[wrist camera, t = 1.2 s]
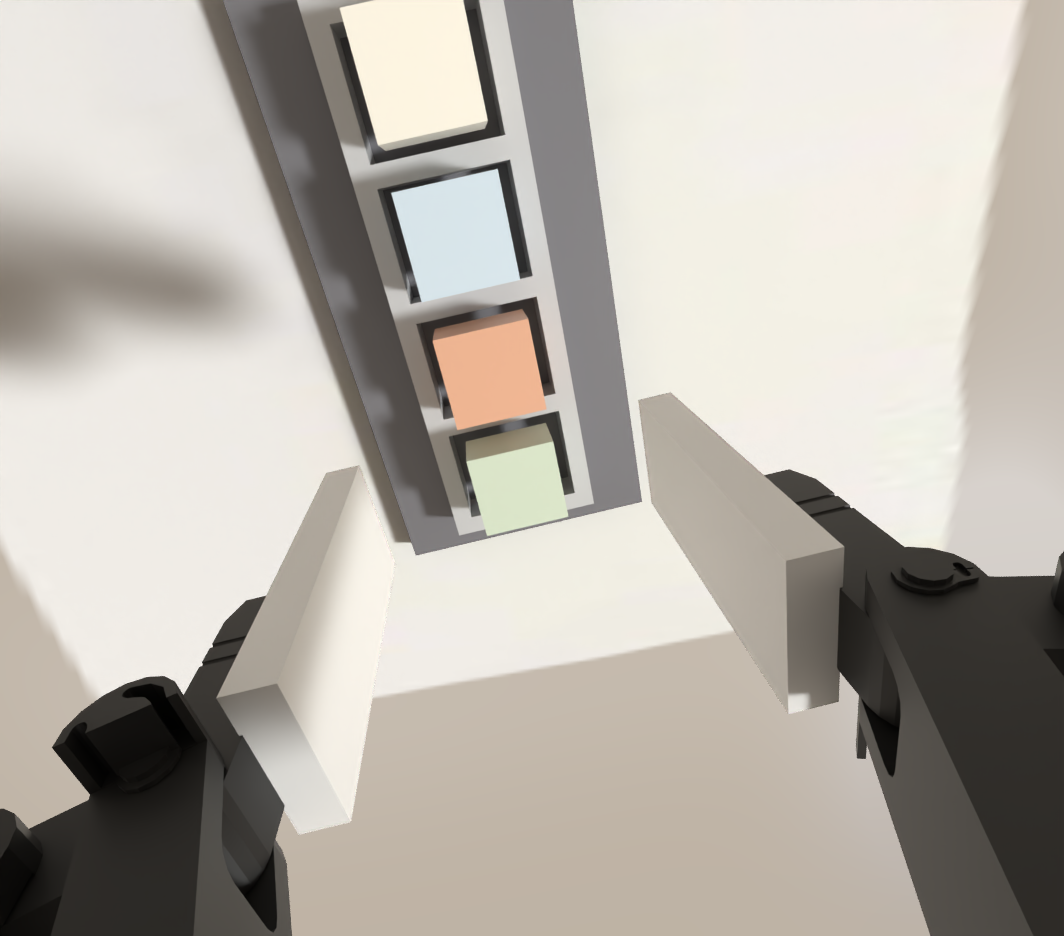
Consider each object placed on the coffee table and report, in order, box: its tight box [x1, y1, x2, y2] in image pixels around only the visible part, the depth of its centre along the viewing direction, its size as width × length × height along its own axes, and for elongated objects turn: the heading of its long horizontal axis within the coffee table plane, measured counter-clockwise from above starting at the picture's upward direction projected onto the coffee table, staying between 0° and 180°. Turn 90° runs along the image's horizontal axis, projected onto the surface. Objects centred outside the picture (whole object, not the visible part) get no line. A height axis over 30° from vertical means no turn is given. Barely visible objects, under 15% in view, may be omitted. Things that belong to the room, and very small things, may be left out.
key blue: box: [391, 169, 520, 302], centre depth 21 cm, size 4×4×2 cm
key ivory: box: [340, 0, 488, 151], centre depth 19 cm, size 4×4×2 cm
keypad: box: [223, 0, 642, 555], centre depth 25 cm, size 24×12×3 cm, turn 12°
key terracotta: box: [433, 309, 546, 430], centre depth 23 cm, size 4×4×2 cm
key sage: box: [466, 423, 568, 536], centre depth 25 cm, size 4×4×2 cm
